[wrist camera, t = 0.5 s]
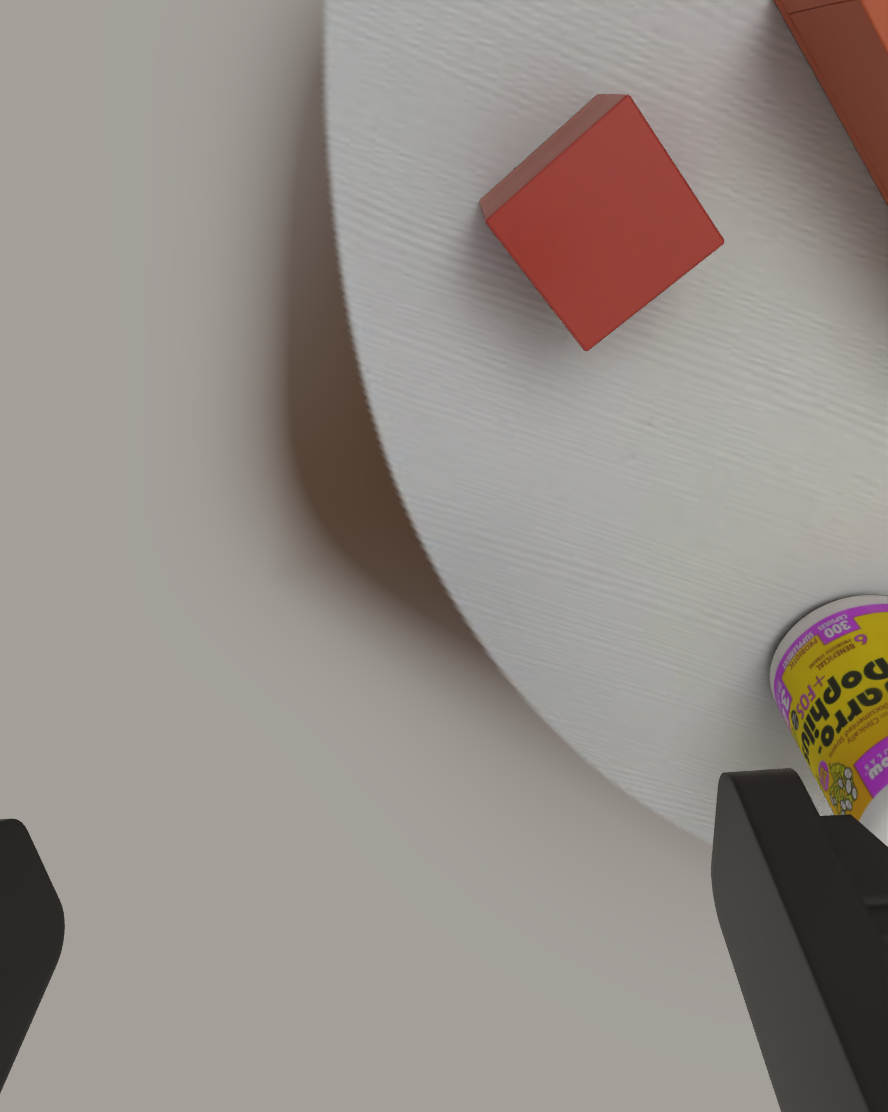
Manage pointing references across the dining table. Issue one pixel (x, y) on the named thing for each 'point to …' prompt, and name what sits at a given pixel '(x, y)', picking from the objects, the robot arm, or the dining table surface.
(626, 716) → the dining table surface
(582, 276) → the red block
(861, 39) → the orange bin
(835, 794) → the supplement bottle
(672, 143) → the dining table surface
